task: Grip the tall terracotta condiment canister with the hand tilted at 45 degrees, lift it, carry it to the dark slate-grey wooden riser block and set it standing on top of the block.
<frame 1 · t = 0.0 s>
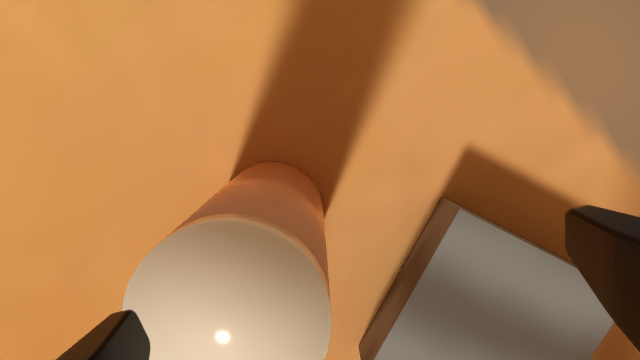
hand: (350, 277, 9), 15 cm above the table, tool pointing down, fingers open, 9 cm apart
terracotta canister: (272, 211, 25), on the table
riser block: (475, 310, 26), on the table
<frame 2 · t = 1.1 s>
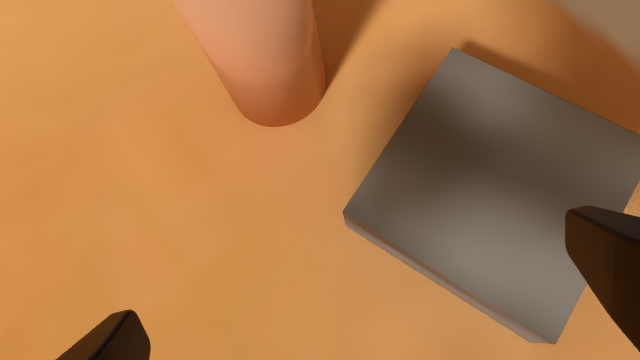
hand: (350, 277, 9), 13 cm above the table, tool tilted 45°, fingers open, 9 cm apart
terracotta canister: (278, 83, 26), on the table
riser block: (482, 197, 23), on the table
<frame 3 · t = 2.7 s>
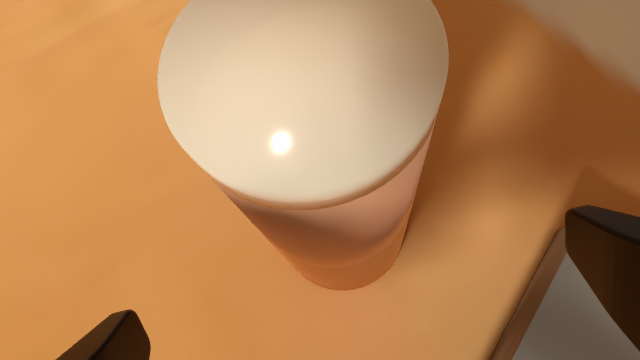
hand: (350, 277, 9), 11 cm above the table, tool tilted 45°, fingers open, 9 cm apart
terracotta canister: (341, 228, 21), on the table
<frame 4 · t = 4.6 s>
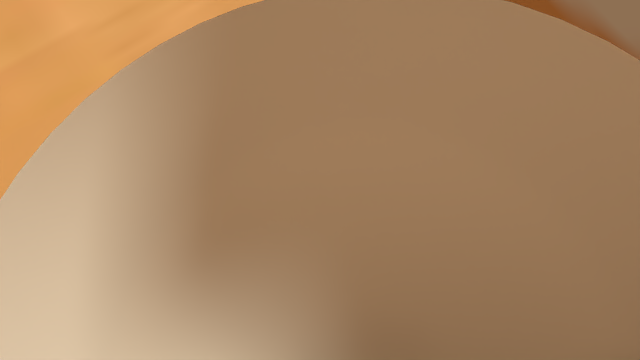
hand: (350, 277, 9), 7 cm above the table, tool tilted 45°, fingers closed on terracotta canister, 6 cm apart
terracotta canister: (368, 348, 15), on the table, touching gripper
when the fingers open (11 cm above the table, at t = 7.9 s): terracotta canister drops 1 cm, resting on riser block.
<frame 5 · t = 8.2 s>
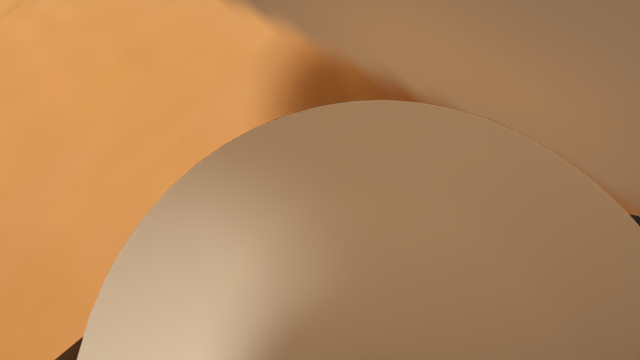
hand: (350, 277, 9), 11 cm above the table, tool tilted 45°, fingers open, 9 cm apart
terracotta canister: (369, 350, 16), point 3 cm above the table, touching riser block
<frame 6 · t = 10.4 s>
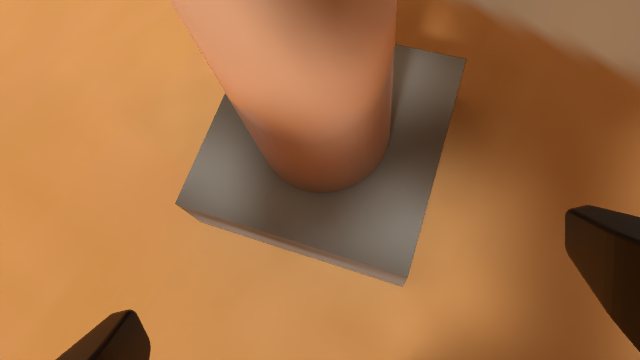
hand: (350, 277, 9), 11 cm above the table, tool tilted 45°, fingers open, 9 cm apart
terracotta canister: (324, 131, 19), point 3 cm above the table, touching riser block
riser block: (330, 156, 22), on the table
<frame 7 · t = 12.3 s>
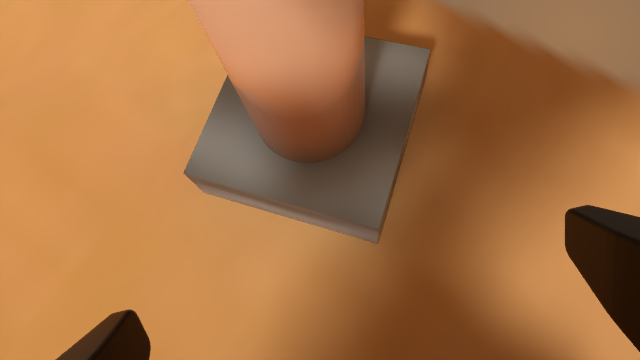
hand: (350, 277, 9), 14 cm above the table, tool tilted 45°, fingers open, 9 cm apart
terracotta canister: (309, 111, 23), point 3 cm above the table, touching riser block
riser block: (316, 135, 26), on the table
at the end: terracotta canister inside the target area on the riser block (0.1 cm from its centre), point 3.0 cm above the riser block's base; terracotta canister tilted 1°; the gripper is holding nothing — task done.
